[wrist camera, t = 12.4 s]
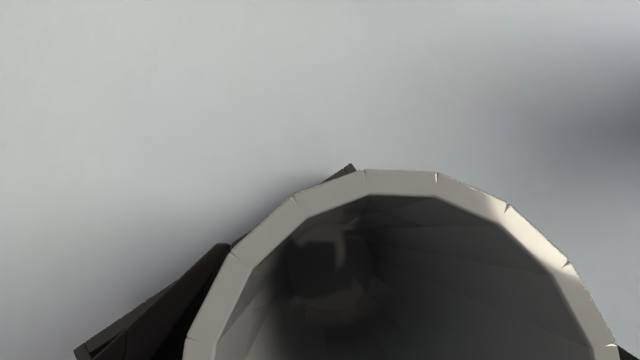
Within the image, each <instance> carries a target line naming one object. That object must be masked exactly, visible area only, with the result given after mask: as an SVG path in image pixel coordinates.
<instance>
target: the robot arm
mask: <svg viewBox="0 0 640 360" xmlns="http://www.w3.org/2000/svg"><path fill="white" fill-rule="evenodd" d="M230 252H231V249H230V246H229V244H227V243H218V244H216V245H215V246H214V247H213V248H212V249H211V250H209V251H208V252H207V253H206V254H205V255H204V256H203V257H202V258H201V259H200V260H199V261H198V262H197V263H196V264H195V265H193V266H192V267H191V268H190V269H189V270H188V271H187V272H186V273H185V274H184V275H183V276H182V277H181V278H180V279H178V280H177V281H176V282H175V283H174V284H173V285H172V286H171V287H170V288H169V289H168V290H167V291H166V292H165V293H163V294H162V295H161V296H160V297H159V298H158V299H157V300H156V301H155V302H154V303H153V304H152V305H151V306H150V307H149V308H147V309H146V310H145V311H144V312H143V313H142V314H141V315H140V316H139V317H138V318H137V319H136V320H135V321H134V322H132V323H131V324H130V325H129V326H128V328H127V329H125V330H124V331H123V332H122V333H121V334H120V335H118V336H117V337H116V338H115V339H114V340H113V341H112V342H111V343H110V344H109V345H108V346H106V347H105V348H104V349H103V350H102V351H101V352H100V353H99V354H98V355H97V356H95V357H94V358H93V359H92V360H182V358H183V350H184V343H185V340H186V338H187V333H188V331H189V329H190V327H191V325H192V323H193V321H194V319H195V317H196V315H197V313H198V311H199V309H200V307H201V305H202V303H203V301H204V300H205V298H206V296H207V294H208V292H209V290H210V288H211V286H212V284H213V282H214V280H215V278H216V276H217V274H218V272H219V270H220V268H221V266H222V264H223V263H224V261H225V259H226V257H227V255H228V254H229V253H230ZM616 345H617V344H616ZM617 346H618V345H617ZM618 351H619V356H620V360H639V359H638V358H636V357H634V356H633V355H631V354H630V353H628V352H627V351H625V350H624V349H622V348H621V347H620V346H618Z"/></svg>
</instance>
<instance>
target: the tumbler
mask: <svg viewBox="0 0 640 360" xmlns="http://www.w3.org/2000/svg"><path fill="white" fill-rule="evenodd" d="M614 342H615V339H614V337H613V335H612V334H611V332H610V330H609V328H608V327H607V325H606V323H605V321H604V319H603V318H602V316H601V314H600V312H599V311H598V309H597V307H596V305H595V303H594V302H593V300H592V298H591V296H590V295H589V293H588V291H587V289H586V287H585V286H584V284H583V282H582V280H581V279H580V277H579V275H578V273H577V271H576V270H575V268H574V266H573V264H572V263H571V262H570V261H568V258H567V257H566V256H565V255H564V254H563V253H562V252H561V251H560V250H559V249H557V248H556V247H555V246H554V245H553V244H552V243H551V242H550V241H549V240H548V239H547V238H546V237H545V236H543V235H542V234H541V233H540V232H539V231H538V230H537V229H536V228H535V227H534V226H533V225H532V224H531V223H529V222H528V221H527V220H526V219H525V218H524V217H523V216H522V215H521V214H520V213H519V212H518V211H517V210H515V209H514V208H513V207H512V206H511V205H509V204H507V203H506V202H505V201H503V200H501V199H498V198H496V197H494V196H491V195H489V194H487V193H484V192H482V191H480V190H478V189H475V188H473V187H471V186H468V185H466V184H464V183H461V182H459V181H457V180H455V179H452V178H450V177H448V176H445V175H443V174H441V173H436V172H430V171H404V170H378V169H365V170H358V171H355V172H353V173H350V174H347V175H345V176H342V177H339V178H336V179H334V180H331V181H328V182H325V183H323V184H320V185H317V186H315V187H312V188H309V189H306V190H304V191H301V192H298V193H295V194H294V195H293V197H289V198H288V199H286V200H285V201H284V202H283V203H282V204H281V205H280V206H279V207H278V208H276V209H275V210H274V211H273V212H272V213H271V214H270V215H269V216H268V217H267V218H265V219H264V220H263V221H262V222H261V223H260V224H259V225H258V226H257V227H255V228H254V229H253V230H252V231H251V232H250V233H249V234H248V235H247V236H246V237H244V238H243V239H242V240H241V241H240V242H239V243H238V244H237V245H236V246H234V247H233V248H232V250H231V252H230V253H229V254H228V255H227V257H226V259H225V261H224V263H223V264H222V266H221V268H220V270H219V272H218V274H217V276H216V278H215V280H214V282H213V284H212V286H211V288H210V290H209V292H208V294H207V296H206V298H205V300H204V301H203V303H202V305H201V307H200V309H199V311H198V313H197V315H196V317H195V319H194V321H193V323H192V325H191V327H190V329H189V331H188V333H187V338H186V340H185V343H184V350H183V358H182V360H620V356H619V351H618V346H617V345H616V344H615V343H614Z"/></svg>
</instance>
